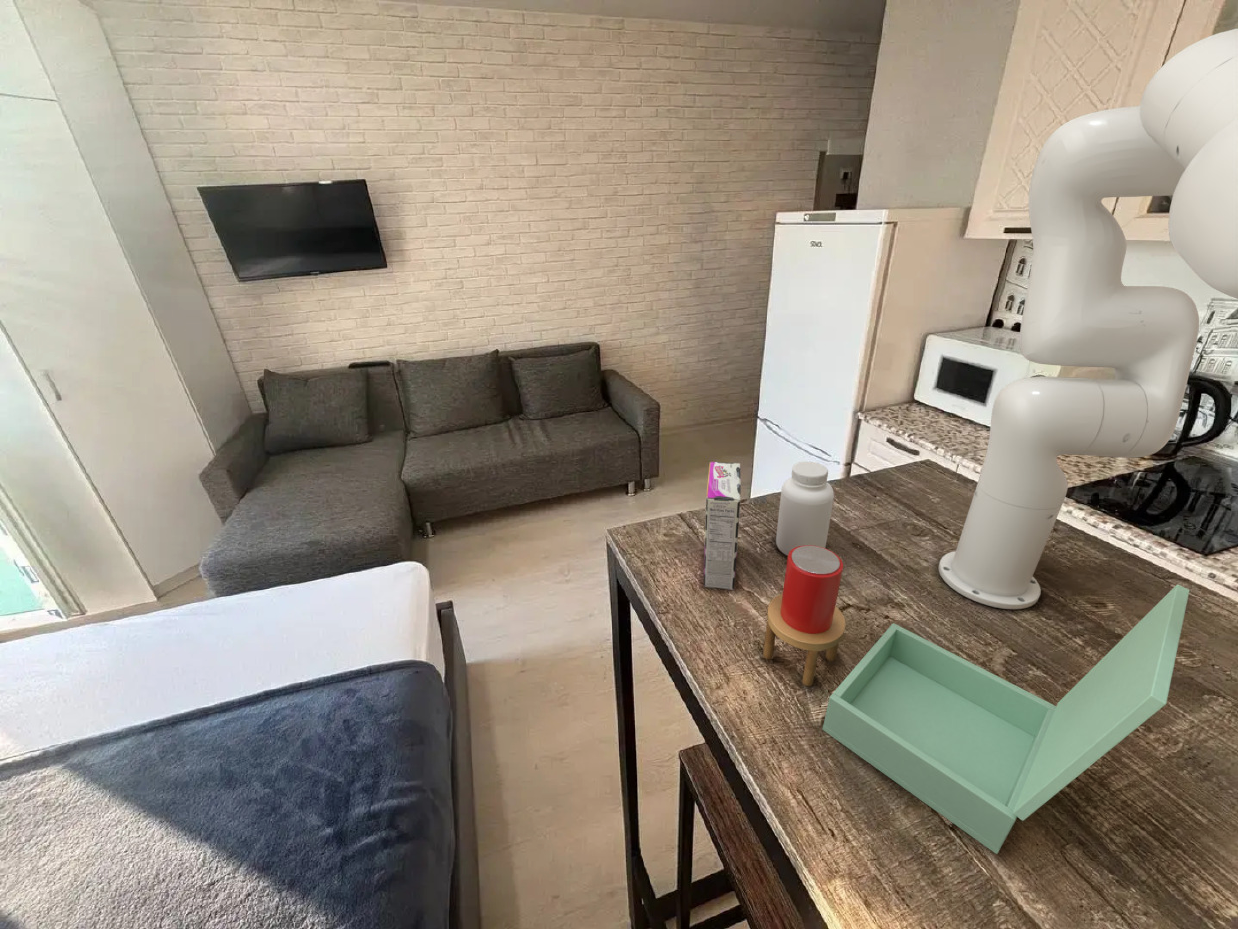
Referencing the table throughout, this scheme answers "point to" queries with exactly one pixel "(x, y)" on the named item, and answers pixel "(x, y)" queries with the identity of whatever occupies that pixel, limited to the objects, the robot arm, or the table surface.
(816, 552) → the soda can
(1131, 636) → the lid
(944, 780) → the box
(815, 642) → the stool
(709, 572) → the candy bar box
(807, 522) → the pill bottle
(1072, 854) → the table surface
